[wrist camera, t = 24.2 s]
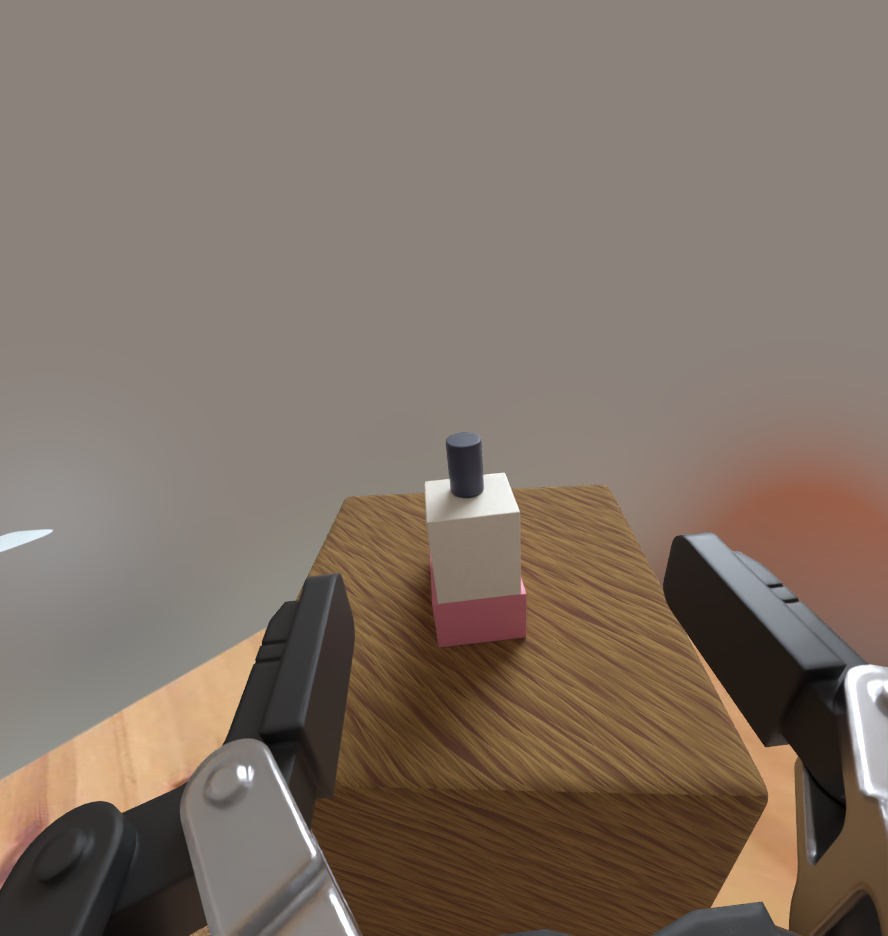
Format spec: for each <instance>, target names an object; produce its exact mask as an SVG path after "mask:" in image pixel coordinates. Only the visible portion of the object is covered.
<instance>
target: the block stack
mask: <svg viewBox="0 0 888 936" xmlns="http://www.w3.org/2000/svg"><path fill="white" fill-rule="evenodd" d="M446 450H447V460H448V469H449V479H445V480H436V481H427V482H425V506H426V525H427V532H428V539H429V550H430V569H431V588H432V606H433V613H434V619H435V626H436V633H437V639H438V646H439V647H448V646H457V645H465V644H473V643H482V642H490V641H499V640H507V639H516V638H524V637H527V607H526V591H525V588H524V585H523V582H522V578H521V549H520V511H519V508H518V506H517V503H516V501H515V498H514V495H513V493H512V490H511V488H510V485H509V483H508V480H507V478H506V475H505V473H497V474H488V475H483V462H482V445H481V438H480V436H479V435H477V434H475V433H469V432H467V433H466V432H463V433H457V434H454V435H451V436H449V437H448V438H447V439H446Z"/></svg>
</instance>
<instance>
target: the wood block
mask: <svg viewBox="0 0 888 936" xmlns="http://www.w3.org/2000/svg"><path fill="white" fill-rule="evenodd" d="M511 490H512V493H513V495H514V498H515V501H516V503H517V506H518V508H519V511H520V549H521V578H522V582H523V585H524V588H525V591H526V607H527V637H524V638H516V639H507V640H499V641H490V642H482V643H473V644H465V645H457V646H448V647H439V646H438V639H437V633H436V626H435V619H434V613H433V606H432V588H431V569H430V550H429V539H428V532H427V525H426V506H425V493H413V494H393V495H373V496H372V495H371V496H353V497H348V498H346V499H345V500H344V502H343V504H342V506H341V508H340V510H339V513H338V515H337V517H336V519H335V521H334V523H333V525H332V527H331V529H330V531H329V533H328V535H327V537H326V540H325V541H324V544H323V545H322V548H321V550H320V552H319V554H318V556H317V558H316V560H315V562H314V564H313V566H312V568H311V570H310V572H309V574H308V576H307V577H309V576H317V575H326V574H335V573H340V574H341V576H342V578H343V582H344V585H345V589H346V593H347V596H348V600H349V604H350V607H351V611H352V615H353V619H354V626H355V644H354V651H353V659H352V666H351V673H350V680H349V687H348V694H347V701H346V709H345V716H344V723H343V730H342V737H341V744H340V751H339V759H338V766H337V773H336V780H335V787H334V794H333V797H332V798H324V799H316V801H315V807H314V813H313V819H312V825H311V830H312V832H313V834H314V836H315V838H316V840H317V842H318V844H319V846H320V848H321V850H322V852H323V854H324V857H325V859H326V861H327V863H328V865H329V867H330V869H331V871H332V873H333V875H334V877H335V879H336V881H337V883H338V885H339V887H340V889H341V891H342V893H343V895H344V898H345V900H346V902H347V904H348V906H349V908H350V910H351V912H352V914H353V916H354V918H355V920H356V922H357V924H358V926H359V928H360V930H361V932H362V934H363V936H496V935H504V934H512V933H520V932H528V931H536V930H543V929H547V930H552V931H556V932H560V933H564V934H568V935H572V936H651V935H652V934H654V933H656V932H657V931H659V930H661V929H662V928H664V927H666V926H667V925H669V924H671V923H672V922H674V921H676V920H677V919H679V918H681V917H682V916H684V915H686V914H687V913H689V912H691V911H693V910H701V909H708V908H711V906H712V904H713V902H714V900H715V899H716V897H717V895H718V893H719V891H720V889H721V888H722V886H723V884H724V882H725V880H726V878H727V877H728V875H729V873H730V871H731V869H732V867H733V866H734V864H735V862H736V860H737V858H738V856H739V855H740V853H741V851H742V849H743V847H744V845H745V844H746V842H747V840H748V838H749V836H750V834H751V833H752V831H753V829H754V827H755V825H756V823H757V822H758V820H759V818H760V816H761V814H762V812H763V811H764V809H765V807H766V805H767V802H768V792H767V789H766V786H765V783H764V781H763V779H762V777H761V775H760V773H759V771H758V769H757V767H756V766H755V764H754V762H753V760H752V758H751V756H750V754H749V752H748V750H747V748H746V747H745V745H744V743H743V741H742V739H741V737H740V735H739V733H738V731H737V729H736V728H735V726H734V724H733V722H732V720H731V718H730V716H729V714H728V712H727V710H726V709H725V707H724V705H723V703H722V701H721V699H720V697H719V695H718V693H717V691H716V690H715V688H714V686H713V684H712V682H711V680H710V678H709V676H708V674H707V672H706V671H705V669H704V667H703V665H702V663H701V661H700V659H699V657H698V655H697V653H696V652H695V650H694V648H693V646H692V644H691V642H690V640H689V638H688V636H687V634H686V633H685V631H684V629H683V627H682V626H681V624H680V623H679V622H678V620H677V619H676V617H675V616H674V614H673V613H672V611H671V610H670V608H669V606H668V604H667V602H666V599H665V596H664V591H663V589H662V587H661V585H660V583H659V581H658V579H657V577H656V576H655V574H654V572H653V570H652V568H651V566H650V564H649V562H648V560H647V559H646V557H645V555H644V553H643V551H642V549H641V547H640V545H639V543H638V541H637V540H636V538H635V536H634V534H633V532H632V530H631V528H630V526H629V524H628V522H627V521H626V519H625V517H624V515H623V513H622V511H621V509H620V507H619V505H618V503H617V501H616V500H615V498H614V496H613V494H612V492H611V490H610V489H609V487H608V486H606V485H582V486H561V487H542V488H541V487H540V488H521V489H511ZM302 589H303V587H302ZM302 589H301V591H300V593H299V595H298V597H297V599H296V601H297V600H299V598H300V595H301V592H302Z"/></svg>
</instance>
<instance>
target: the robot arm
mask: <svg viewBox="0 0 888 936" xmlns="http://www.w3.org/2000/svg"><path fill="white" fill-rule="evenodd" d="M663 591H664V596H665V599H666V602H667V604H668V606H669V608H670V610H671V611H672V613H673V614H674V616H675V617H676V619H677V620H678V622H679V623H680V624H681V626H682V627H683V629H684V630H685V632H686V633H687V635H688V636H689V638H690V639H691V640H692V642H693V643H694V645H695V646H696V648H697V649H698V651H699V652H700V653H701V655H702V656H703V658H704V659H705V661H706V662H707V664H708V665H709V666H710V668H711V669H712V671H713V672H714V674H715V675H716V677H717V678H718V680H719V681H720V682H721V684H722V685H723V687H724V688H725V690H726V691H727V693H728V694H729V695H730V697H731V698H732V700H733V701H734V703H735V704H736V706H737V707H738V709H739V710H740V711H741V713H742V714H743V716H744V717H745V719H746V720H747V722H748V723H749V724H750V726H751V727H752V729H753V730H754V732H755V733H756V735H757V736H758V738H759V739H760V740H761V742H762V743H763V745H764V746H765V747H771V746H779V745H788V744H790V746H791V747H792V748H793V750H794V751H795V752H796V754H797V755H798V757H797V759H796V762H795V796H796V824H797V852H798V873H797V881H796V885H795V889H794V892H793V896H792V901H791V907H790V917H789V930H786V929H784V928H781V927H778V926H775V925H774V923H773V921H772V919H771V917H770V915H769V913H768V911H767V909H766V908H765V906H764V904H763V902H756V903H748V904H740V905H732V906H724V907H716V908H708V909H701V910H693V911H691V912H689V913H687V914H686V915H684V916H682V917H681V918H679V919H677V920H676V921H674V922H672V923H671V924H669V925H667V926H666V927H664V928H662V929H661V930H659V931H657V932H656V933H654V934H652V935H651V936H888V668H885V667H881V666H875V665H869V664H868V663H867V662H866V661H865V660H864V659H862V658H861V657H860V656H859V655H858V654H857V653H856V652H855V651H854V650H853V649H852V648H851V647H850V646H848V645H847V643H845V642H844V641H843V640H842V639H841V638H840V637H839V636H838V635H837V634H836V633H835V632H834V631H833V630H832V629H831V628H829V627H828V626H827V625H826V624H825V623H824V622H823V621H822V620H821V619H820V618H819V617H818V616H817V615H816V614H815V613H814V612H812V611H811V610H810V609H809V608H808V607H807V606H806V605H805V604H804V603H803V602H799V600H798V597H796V596H795V595H794V594H793V593H792V592H791V591H790V590H789V589H788V588H787V587H783V585H782V582H781V581H779V580H778V579H777V578H776V577H775V576H774V575H773V574H772V573H771V572H770V571H769V570H768V569H767V568H766V567H765V566H764V565H762V564H760V563H758V562H757V561H755V560H753V559H751V558H750V557H748V556H746V555H744V554H742V553H741V552H739V551H737V552H733V551H732V550H731V549H729V547H728V546H727V545H726V544H725V543H724V542H723V541H722V540H720V538H719V537H717V536H716V535H715V534H713V533H710V532H706V533H698V534H689V535H680V536H676V537H675V538H674V540H673V542H672V545H671V550H670V555H669V559H668V564H667V568H666V573H665V577H664V582H663ZM354 644H355V626H354V619H353V615H352V611H351V607H350V604H349V600H348V596H347V593H346V589H345V585H344V582H343V578H342V576H341V574H340V573H335V574H326V575H317V576H309V577H307V578H306V580H305V583H304V585H303V589H302V592H301V595H300V598H299V600H297V601H289V602H285V603H284V604H283V605H282V606H281V608H280V609H279V610H278V611H277V612H276V614H275V615H274V616H273V617H272V619H271V620H270V622H269V624H268V627H267V629H266V632H265V635H264V637H263V640H262V646H260V648H259V651H258V654H257V656H256V659H255V660H256V663H255V664H254V665H253V667H252V670H251V673H250V675H249V678H248V681H247V684H246V686H245V689H244V692H243V694H242V697H241V700H240V703H239V705H238V708H237V711H236V713H235V716H234V719H233V722H232V724H231V727H230V730H229V732H228V735H227V737H226V739H225V742H224V743H223V745H222V747H220V748H219V749H217V750H215V751H214V752H213V753H212V754H210V755H209V756H208V757H207V758H206V759H205V760H204V761H203V762H202V763H201V764H200V765H199V766H198V768H197V769H196V770H195V772H194V773H193V774H192V776H191V777H190V779H189V781H188V782H186V783H185V784H183V785H182V786H180V787H178V788H176V789H174V790H172V791H170V792H167V793H165V794H163V795H161V796H159V797H156V798H154V799H152V800H150V801H148V802H145V803H143V804H141V805H139V806H137V807H134V808H132V809H130V810H128V811H126V812H123V813H121V812H120V811H119V810H118V809H117V808H116V807H115V806H114V805H113V804H111V803H108V802H103V801H97V802H91V803H87V804H84V805H81V806H79V807H77V808H75V809H73V810H71V811H69V812H67V813H66V814H64V815H63V816H61V817H60V818H58V819H57V820H56V821H54V822H53V823H52V824H51V825H49V826H48V827H47V828H46V829H45V830H44V831H43V832H42V833H41V834H40V835H38V836H37V838H36V839H35V840H34V841H33V842H32V843H31V844H30V845H29V846H28V848H27V849H26V850H25V852H24V853H23V854H22V855H21V857H20V858H19V860H18V861H17V863H16V864H15V866H14V867H13V869H12V871H11V873H10V874H9V876H8V878H7V879H6V881H5V883H4V884H3V886H2V888H1V890H0V936H189V935H190V934H192V933H194V932H196V931H198V930H199V929H201V928H203V927H205V926H207V925H208V928H209V932H210V936H363V934H362V932H361V930H360V928H359V926H358V924H357V922H356V920H355V918H354V916H353V914H352V912H351V910H350V908H349V906H348V904H347V902H346V900H345V898H344V895H343V893H342V891H341V889H340V887H339V885H338V883H337V881H336V879H335V877H334V875H333V873H332V871H331V869H330V867H329V865H328V863H327V861H326V859H325V857H324V854H323V852H322V850H321V848H320V846H319V844H318V842H317V840H316V838H315V836H314V834H313V832H312V830H311V825H312V819H313V813H314V807H315V801H316V799H324V798H332V797H333V794H334V787H335V780H336V773H337V766H338V759H339V751H340V744H341V737H342V730H343V723H344V716H345V709H346V701H347V694H348V687H349V680H350V673H351V666H352V659H353V651H354ZM496 936H572V935H568V934H564V933H560V932H556V931H552V930H547V929H543V930H536V931H528V932H520V933H512V934H504V935H496Z"/></svg>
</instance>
